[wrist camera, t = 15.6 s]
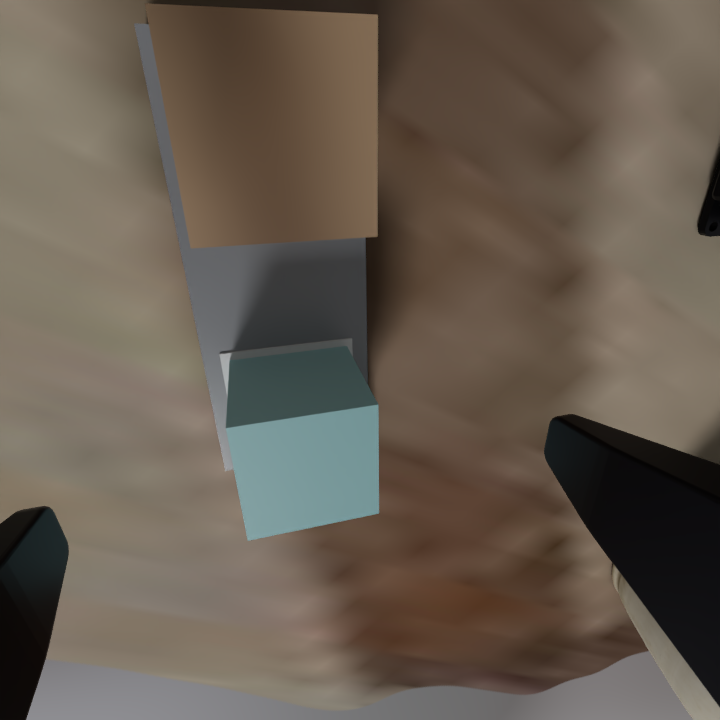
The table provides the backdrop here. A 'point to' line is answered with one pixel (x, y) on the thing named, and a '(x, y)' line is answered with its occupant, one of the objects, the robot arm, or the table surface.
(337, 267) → the baseplate
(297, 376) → the teal block
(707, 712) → the jug
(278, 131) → the walnut block
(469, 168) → the table surface
